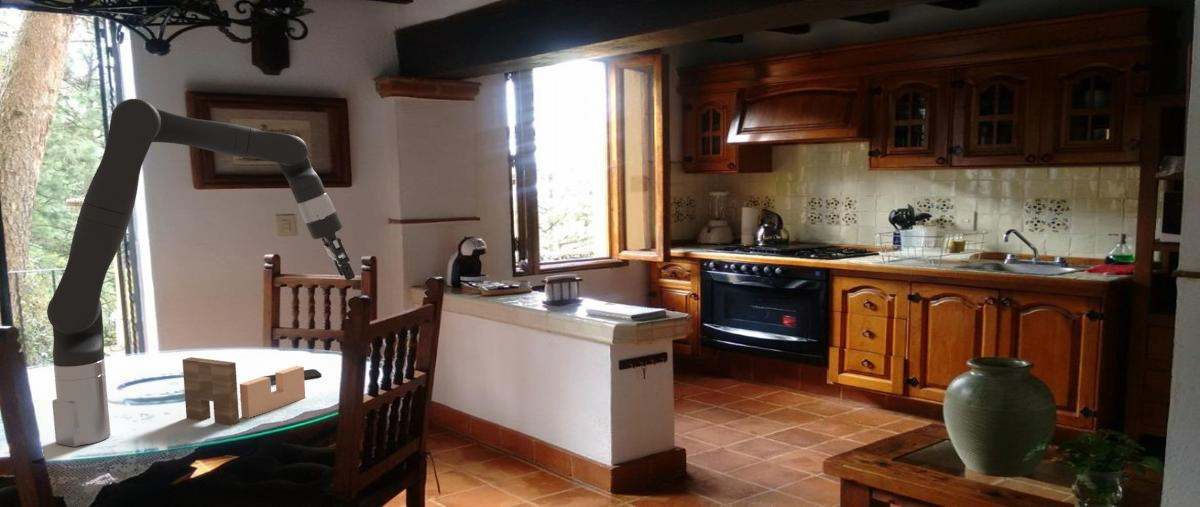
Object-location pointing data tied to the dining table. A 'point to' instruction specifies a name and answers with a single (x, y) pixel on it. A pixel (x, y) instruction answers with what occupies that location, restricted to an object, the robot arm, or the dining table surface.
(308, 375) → the phone
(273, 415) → the dining table surface
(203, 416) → the upright wooden board
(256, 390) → the horizontal wooden crosspiece
